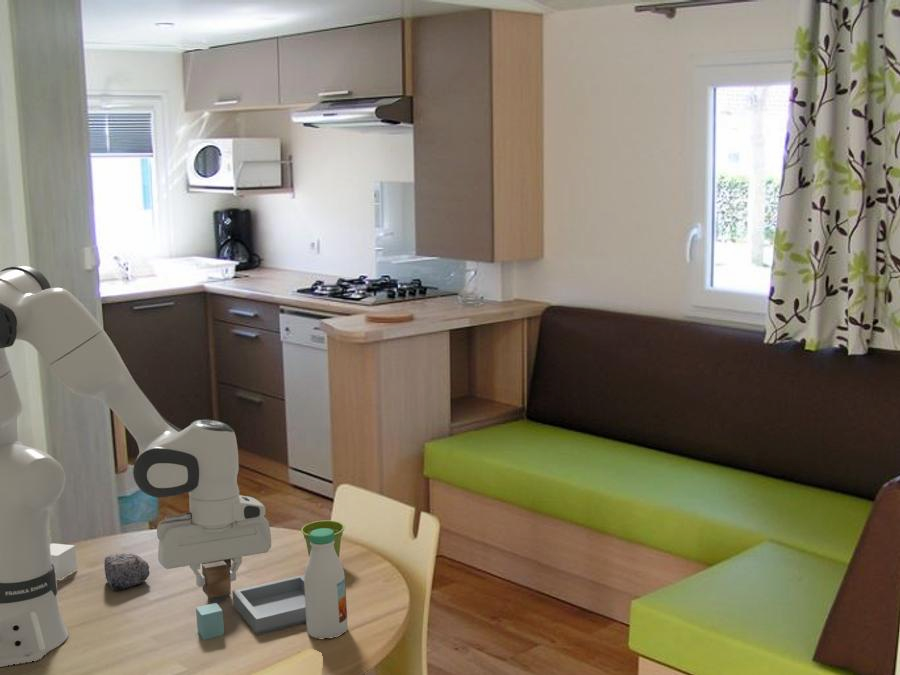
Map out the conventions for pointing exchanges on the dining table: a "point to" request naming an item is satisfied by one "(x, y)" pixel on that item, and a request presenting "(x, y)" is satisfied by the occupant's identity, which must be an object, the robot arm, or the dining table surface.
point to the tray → (272, 604)
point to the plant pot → (328, 524)
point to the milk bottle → (324, 587)
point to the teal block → (210, 621)
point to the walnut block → (216, 579)
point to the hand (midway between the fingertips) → (216, 582)
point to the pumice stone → (125, 570)
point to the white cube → (63, 559)
